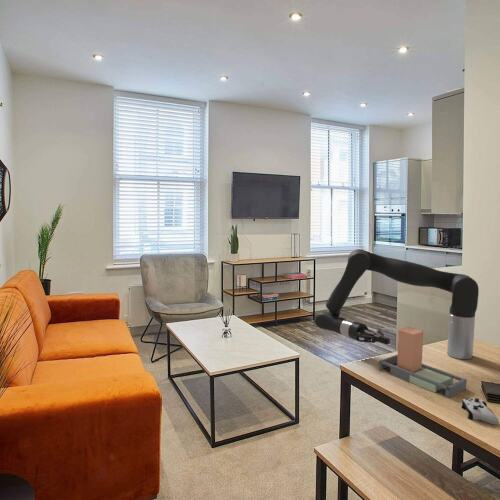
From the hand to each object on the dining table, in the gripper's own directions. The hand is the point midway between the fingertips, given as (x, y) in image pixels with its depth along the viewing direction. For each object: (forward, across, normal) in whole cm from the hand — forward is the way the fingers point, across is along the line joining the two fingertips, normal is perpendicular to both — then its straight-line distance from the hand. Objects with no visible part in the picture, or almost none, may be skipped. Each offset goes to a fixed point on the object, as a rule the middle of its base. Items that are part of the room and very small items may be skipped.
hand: (388, 341), depth 152 cm
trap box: (+14, 0, +10) cm, 17 cm away
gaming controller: (+38, -8, +10) cm, 40 cm away
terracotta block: (+9, 0, +7) cm, 12 cm away
